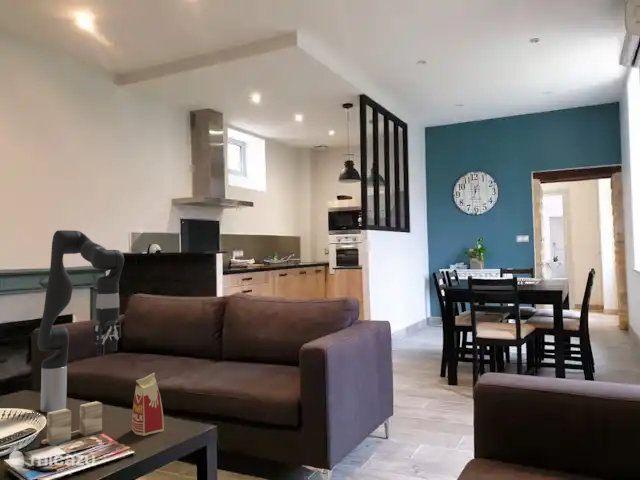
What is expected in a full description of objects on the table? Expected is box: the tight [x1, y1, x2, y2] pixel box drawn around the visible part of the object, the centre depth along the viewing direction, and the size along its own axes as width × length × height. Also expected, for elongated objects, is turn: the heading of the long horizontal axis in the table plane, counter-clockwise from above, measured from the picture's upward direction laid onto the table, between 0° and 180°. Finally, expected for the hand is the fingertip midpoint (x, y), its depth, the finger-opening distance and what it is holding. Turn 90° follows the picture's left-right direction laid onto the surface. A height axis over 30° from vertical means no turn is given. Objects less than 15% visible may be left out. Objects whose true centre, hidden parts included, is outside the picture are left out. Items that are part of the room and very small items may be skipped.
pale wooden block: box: [78, 400, 103, 437], centre depth 176 cm, size 4×6×10 cm, turn 143°
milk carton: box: [131, 372, 165, 437], centre depth 178 cm, size 9×9×20 cm
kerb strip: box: [40, 429, 80, 445], centre depth 173 cm, size 2×19×1 cm, turn 143°
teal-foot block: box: [46, 408, 72, 447], centre depth 167 cm, size 4×6×10 cm, turn 143°
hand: (107, 353), depth 175 cm, fingers open, 8 cm apart
